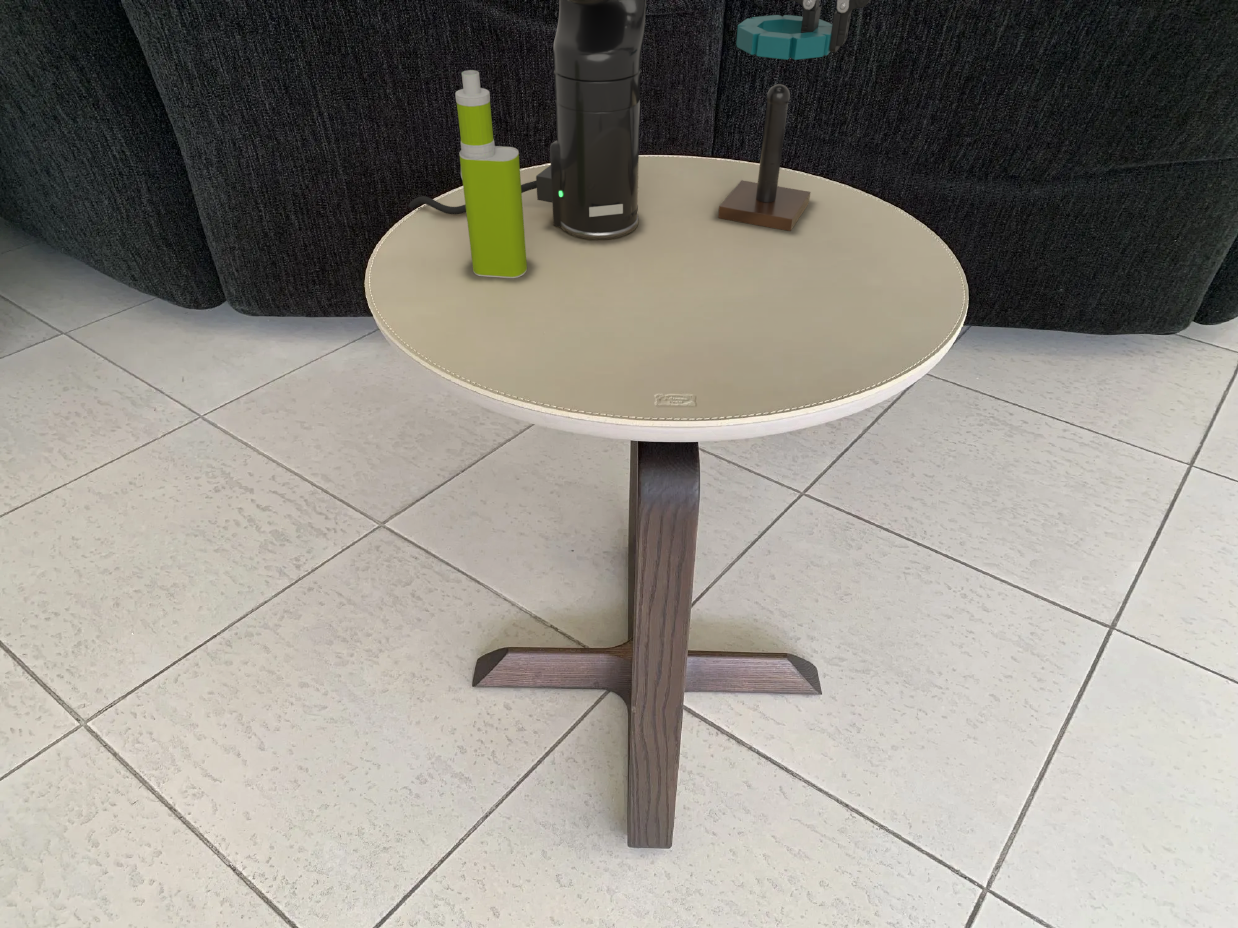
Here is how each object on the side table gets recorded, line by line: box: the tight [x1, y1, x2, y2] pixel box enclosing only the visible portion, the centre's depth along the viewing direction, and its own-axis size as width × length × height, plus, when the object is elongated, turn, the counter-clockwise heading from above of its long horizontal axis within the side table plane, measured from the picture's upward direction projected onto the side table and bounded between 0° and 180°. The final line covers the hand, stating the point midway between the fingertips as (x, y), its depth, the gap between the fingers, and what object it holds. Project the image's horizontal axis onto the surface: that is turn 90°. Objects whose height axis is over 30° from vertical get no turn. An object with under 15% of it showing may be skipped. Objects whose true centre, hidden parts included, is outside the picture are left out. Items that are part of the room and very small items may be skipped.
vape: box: [454, 69, 528, 279], centre depth 84 cm, size 4×6×20 cm, turn 82°
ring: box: [735, 14, 833, 61], centre depth 89 cm, size 10×10×2 cm
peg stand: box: [717, 83, 811, 232], centre depth 98 cm, size 9×9×15 cm
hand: (821, 48), depth 88 cm, fingers closed on ring, 2 cm apart
